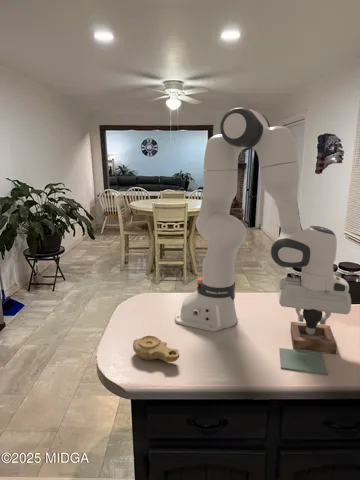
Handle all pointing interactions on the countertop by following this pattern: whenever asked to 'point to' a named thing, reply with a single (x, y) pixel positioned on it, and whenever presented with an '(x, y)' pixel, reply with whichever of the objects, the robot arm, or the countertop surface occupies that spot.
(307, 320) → the light bulb
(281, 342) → the countertop surface
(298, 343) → the socket block
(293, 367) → the rubber mat
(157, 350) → the oil lamp
